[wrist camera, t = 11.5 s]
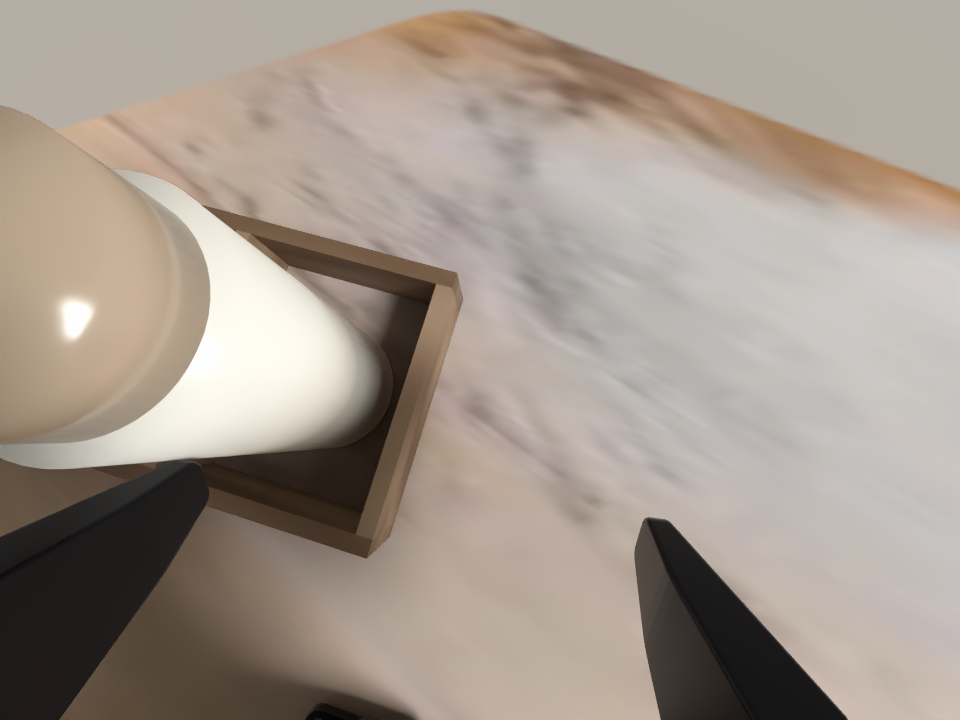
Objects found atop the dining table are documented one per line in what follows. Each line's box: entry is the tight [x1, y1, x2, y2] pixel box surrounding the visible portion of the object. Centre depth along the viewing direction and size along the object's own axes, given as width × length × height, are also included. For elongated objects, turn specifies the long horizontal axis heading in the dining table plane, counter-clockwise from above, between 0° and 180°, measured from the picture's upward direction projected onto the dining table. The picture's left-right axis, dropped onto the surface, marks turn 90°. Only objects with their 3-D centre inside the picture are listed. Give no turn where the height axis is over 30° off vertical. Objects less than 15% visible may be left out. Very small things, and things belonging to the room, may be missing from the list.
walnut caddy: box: [90, 205, 463, 559], centre depth 17 cm, size 10×18×3 cm, turn 74°
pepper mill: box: [0, 106, 393, 469], centre depth 12 cm, size 5×5×13 cm
